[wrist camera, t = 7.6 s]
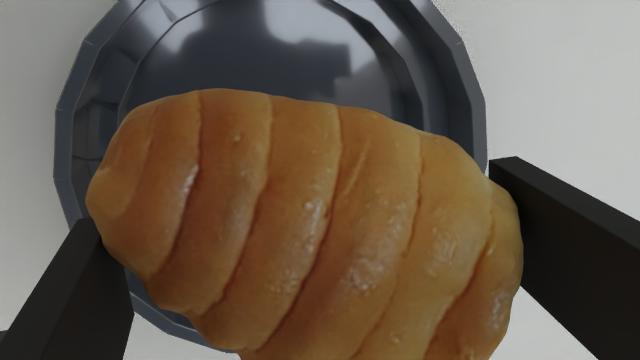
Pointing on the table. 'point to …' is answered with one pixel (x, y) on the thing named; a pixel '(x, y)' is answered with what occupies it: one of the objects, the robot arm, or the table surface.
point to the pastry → (309, 229)
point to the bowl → (261, 79)
